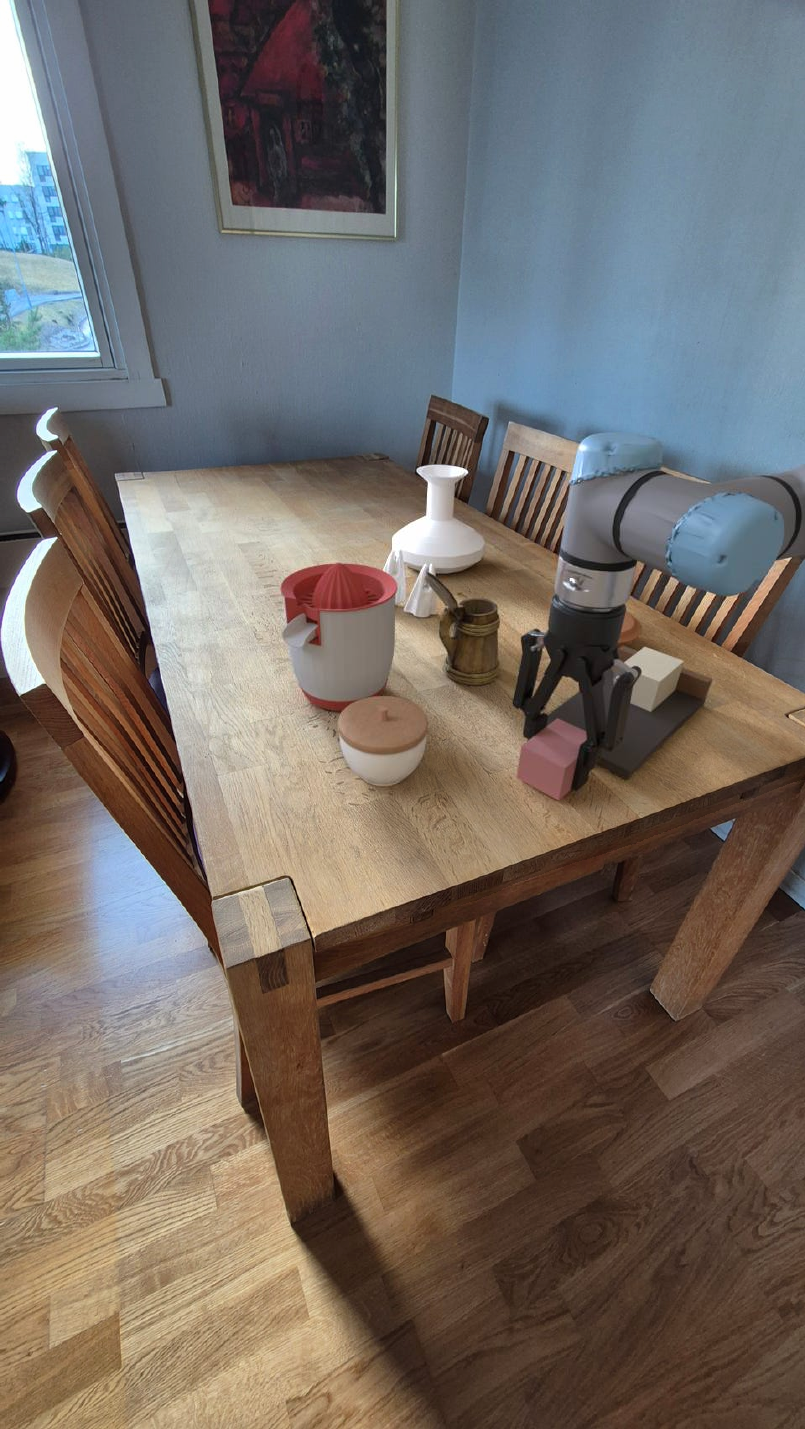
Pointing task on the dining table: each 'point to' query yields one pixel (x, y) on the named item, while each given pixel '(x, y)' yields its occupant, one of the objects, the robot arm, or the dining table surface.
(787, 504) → the robot arm
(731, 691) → the dining table surface
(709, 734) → the dining table surface
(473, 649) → the wooden mug
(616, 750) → the backrest board
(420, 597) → the shaker set
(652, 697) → the cream block
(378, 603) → the citrus juicer
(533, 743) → the pink block
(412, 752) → the trinket box
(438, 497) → the white vase
